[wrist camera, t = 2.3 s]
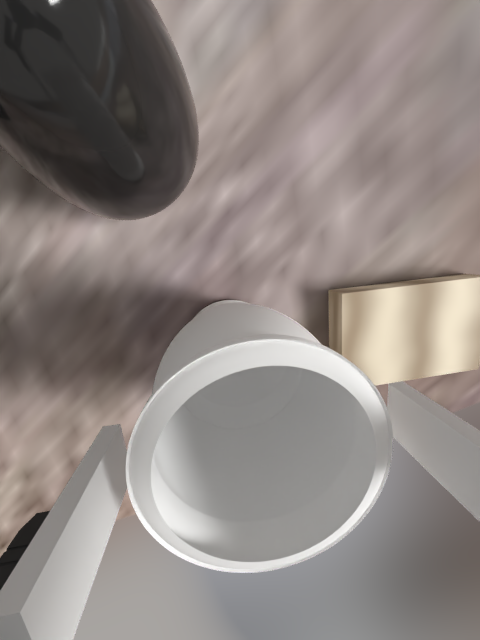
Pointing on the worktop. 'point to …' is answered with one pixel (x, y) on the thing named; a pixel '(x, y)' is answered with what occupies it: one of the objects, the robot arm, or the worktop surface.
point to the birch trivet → (408, 327)
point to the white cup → (256, 443)
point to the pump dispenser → (97, 103)
